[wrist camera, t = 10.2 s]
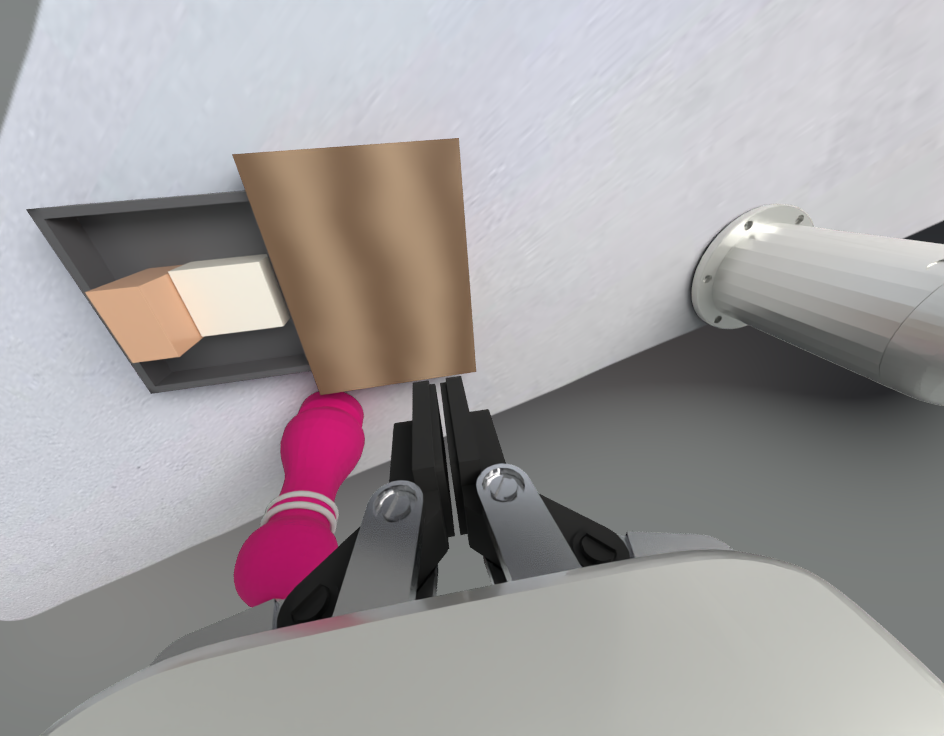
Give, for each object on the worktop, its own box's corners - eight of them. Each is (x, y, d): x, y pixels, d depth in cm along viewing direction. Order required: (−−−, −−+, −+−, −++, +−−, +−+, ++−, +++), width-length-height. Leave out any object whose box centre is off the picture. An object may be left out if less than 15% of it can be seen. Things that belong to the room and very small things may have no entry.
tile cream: (272, 253, 27) (258, 261, 24) (294, 312, 29) (283, 326, 27) (190, 261, 26) (167, 271, 23) (220, 321, 29) (202, 336, 26)
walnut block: (451, 142, 26) (458, 138, 22) (469, 352, 35) (476, 371, 31) (256, 157, 24) (232, 154, 21) (329, 372, 33) (320, 395, 30)
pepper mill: (368, 385, 35) (332, 591, 18) (369, 439, 38) (340, 655, 21) (291, 384, 33) (171, 608, 16) (299, 440, 37) (208, 674, 20)
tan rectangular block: (138, 286, 21) (84, 292, 21) (179, 356, 24) (132, 363, 23) (190, 264, 26) (148, 268, 26) (219, 323, 29) (181, 328, 28)
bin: (263, 189, 25) (246, 190, 22) (319, 354, 32) (312, 370, 30) (67, 205, 24) (26, 209, 21) (172, 375, 31) (151, 393, 28)
